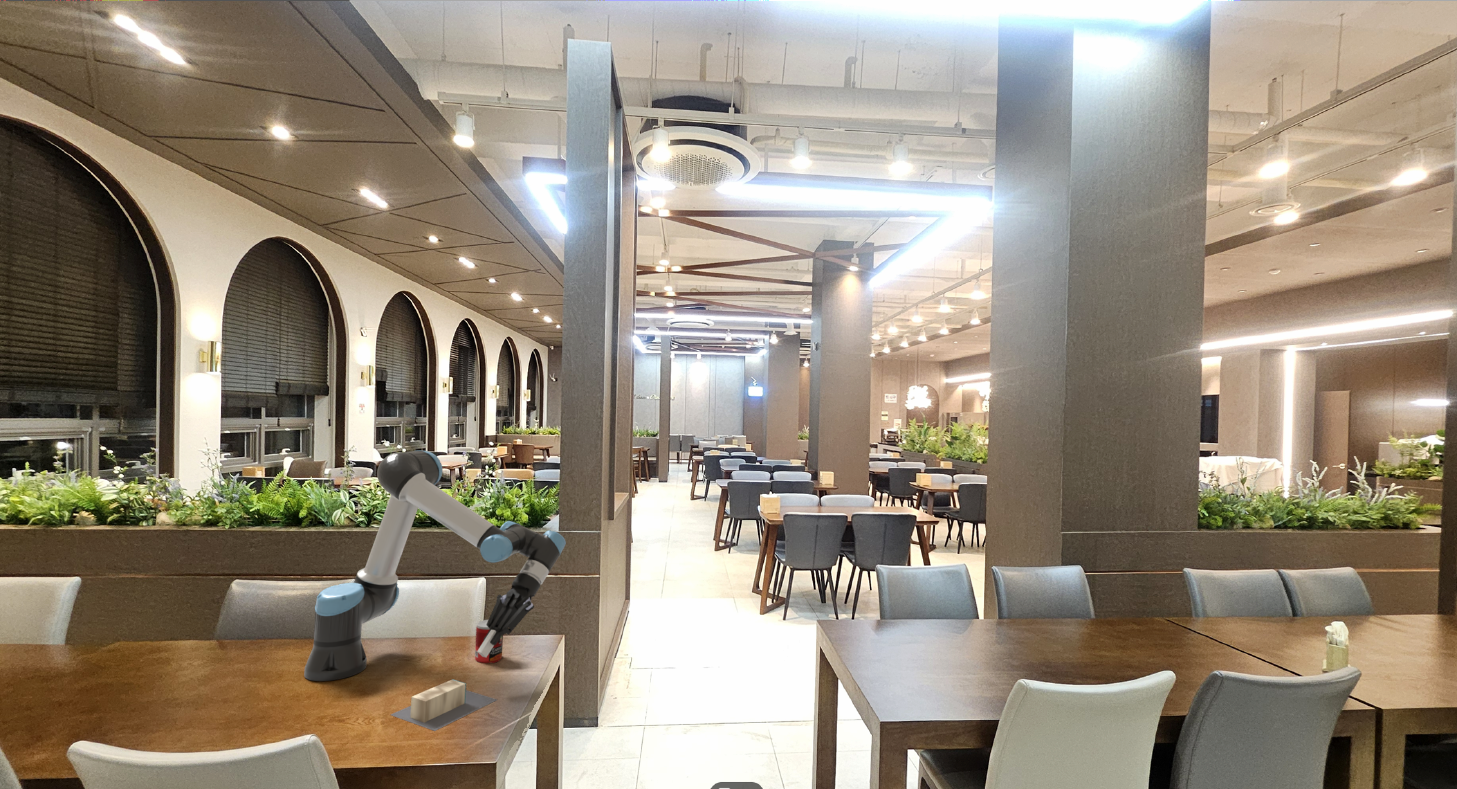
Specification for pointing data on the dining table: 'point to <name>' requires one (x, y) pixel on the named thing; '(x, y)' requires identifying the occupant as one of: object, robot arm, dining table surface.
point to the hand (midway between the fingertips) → (481, 654)
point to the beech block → (438, 700)
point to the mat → (449, 712)
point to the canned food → (480, 635)
